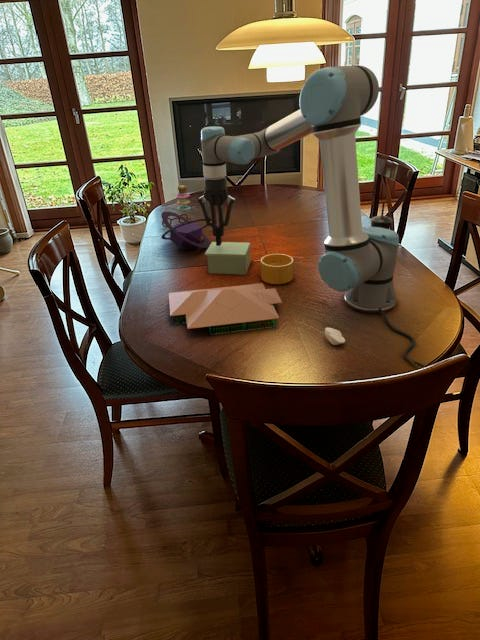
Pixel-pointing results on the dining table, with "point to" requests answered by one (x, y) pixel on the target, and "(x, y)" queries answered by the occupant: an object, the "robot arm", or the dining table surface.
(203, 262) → the dining table surface
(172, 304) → the house
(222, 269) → the chest
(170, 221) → the glasses
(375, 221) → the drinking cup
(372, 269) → the robot arm
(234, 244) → the chest lid
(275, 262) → the bowl
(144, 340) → the dining table surface
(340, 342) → the white rock
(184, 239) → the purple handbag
